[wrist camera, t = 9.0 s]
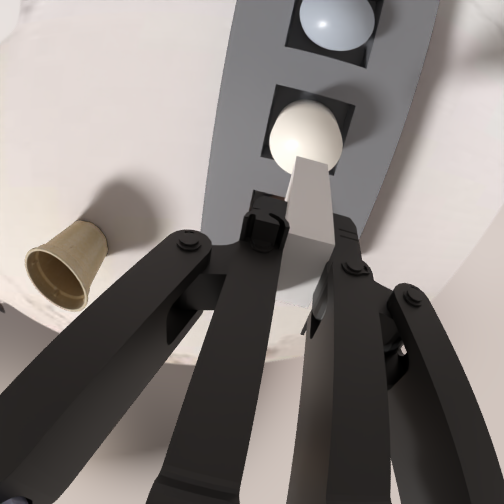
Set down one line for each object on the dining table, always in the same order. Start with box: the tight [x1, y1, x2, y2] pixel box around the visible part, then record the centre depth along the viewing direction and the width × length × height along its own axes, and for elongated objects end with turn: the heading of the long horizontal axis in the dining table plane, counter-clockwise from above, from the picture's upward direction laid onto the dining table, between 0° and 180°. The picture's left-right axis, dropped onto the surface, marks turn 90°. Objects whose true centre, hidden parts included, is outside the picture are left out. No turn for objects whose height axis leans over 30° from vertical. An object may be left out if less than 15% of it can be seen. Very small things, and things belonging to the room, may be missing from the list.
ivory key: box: [269, 99, 343, 174], centre depth 22 cm, size 5×5×4 cm
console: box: [201, 0, 440, 245], centre depth 25 cm, size 28×14×4 cm, turn 169°
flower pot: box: [25, 220, 108, 312], centre depth 36 cm, size 9×9×9 cm
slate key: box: [300, 0, 375, 51], centre depth 17 cm, size 5×5×4 cm
